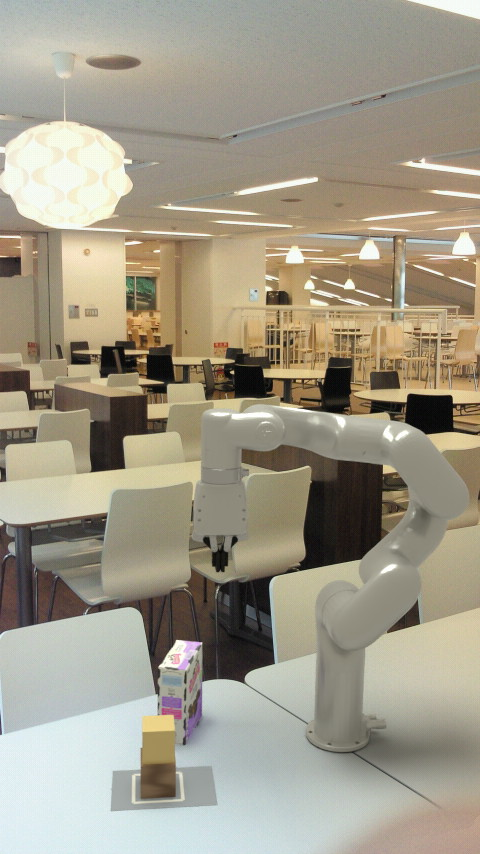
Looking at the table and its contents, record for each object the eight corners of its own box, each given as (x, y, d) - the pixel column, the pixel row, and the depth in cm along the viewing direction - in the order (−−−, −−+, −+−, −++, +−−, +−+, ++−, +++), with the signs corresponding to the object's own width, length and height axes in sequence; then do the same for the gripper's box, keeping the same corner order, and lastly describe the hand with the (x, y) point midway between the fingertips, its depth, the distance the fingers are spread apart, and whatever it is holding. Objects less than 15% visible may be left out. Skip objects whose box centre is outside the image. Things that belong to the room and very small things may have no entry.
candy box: (185, 750, 162) (186, 669, 159) (156, 746, 163) (156, 666, 161) (203, 715, 175) (203, 640, 173) (175, 712, 176) (176, 638, 174)
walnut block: (174, 777, 151) (174, 746, 150) (175, 796, 145) (175, 764, 144) (140, 778, 150) (140, 747, 150) (140, 798, 145) (140, 766, 144)
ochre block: (173, 746, 150) (173, 714, 149) (174, 763, 145) (174, 730, 144) (142, 747, 150) (142, 716, 149) (142, 764, 144) (142, 732, 143)
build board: (211, 770, 155) (211, 765, 155) (217, 810, 143) (217, 804, 143) (112, 776, 153) (112, 770, 153) (110, 816, 141) (110, 810, 141)
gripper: (258, 470, 161) (256, 563, 164) (179, 471, 160) (179, 564, 162) (263, 479, 154) (261, 575, 157) (181, 480, 152) (181, 577, 155)
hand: (219, 569), depth 160 cm, fingers closed
